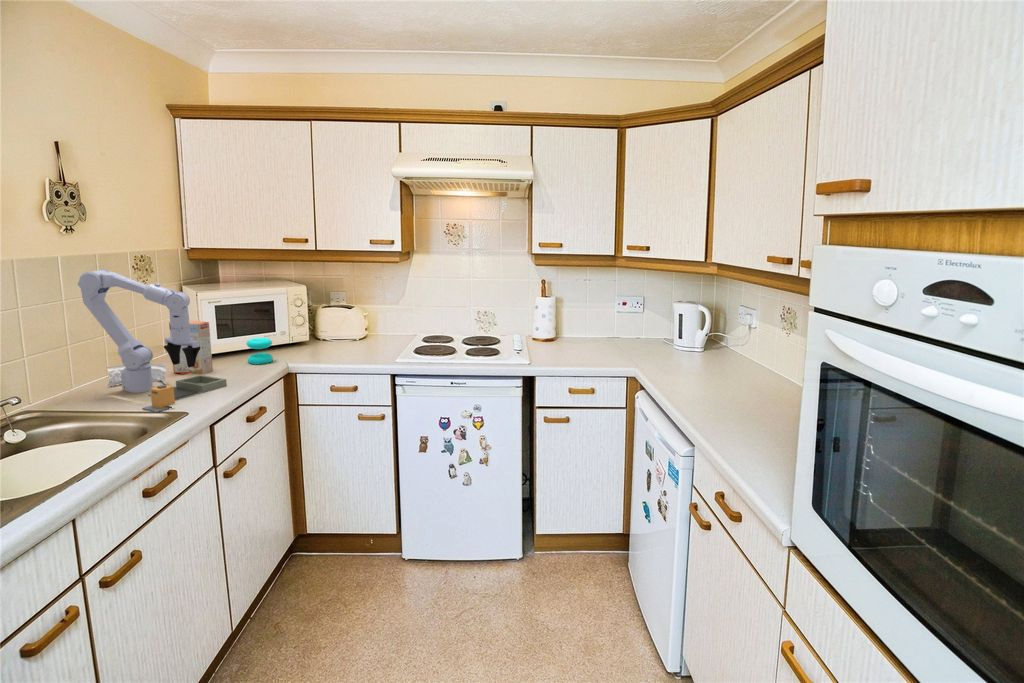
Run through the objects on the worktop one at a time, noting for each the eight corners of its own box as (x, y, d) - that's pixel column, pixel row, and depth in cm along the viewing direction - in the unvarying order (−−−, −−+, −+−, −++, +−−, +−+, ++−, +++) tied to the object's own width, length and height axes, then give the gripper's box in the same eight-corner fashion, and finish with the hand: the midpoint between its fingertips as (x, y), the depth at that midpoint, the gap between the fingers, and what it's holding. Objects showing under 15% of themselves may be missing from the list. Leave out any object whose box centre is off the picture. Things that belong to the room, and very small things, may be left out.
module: (151, 406, 184) (149, 387, 183) (166, 402, 189) (164, 383, 188) (160, 408, 183) (158, 388, 182) (175, 404, 188) (173, 384, 186)
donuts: (252, 342, 239) (242, 339, 245) (253, 366, 241) (244, 362, 247) (275, 339, 246) (265, 336, 252) (277, 362, 248) (267, 358, 254)
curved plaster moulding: (169, 388, 207) (166, 365, 206) (103, 394, 199) (99, 371, 198) (173, 382, 217) (171, 360, 216) (111, 388, 210) (108, 365, 208)
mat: (142, 409, 183) (142, 407, 183) (166, 402, 190) (165, 401, 190) (157, 412, 181) (157, 411, 180) (180, 405, 188) (180, 404, 188)
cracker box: (214, 373, 228) (209, 321, 224) (202, 376, 222) (197, 323, 218) (185, 370, 232) (180, 319, 228) (173, 373, 226) (168, 321, 222)
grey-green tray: (148, 398, 195) (147, 388, 194) (201, 383, 213) (200, 374, 212) (175, 403, 190) (174, 393, 189) (227, 388, 208) (226, 379, 207)
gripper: (205, 327, 200) (208, 365, 203) (176, 323, 205) (179, 360, 208) (186, 330, 193) (190, 369, 196) (157, 326, 199) (161, 364, 202)
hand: (183, 365), depth 202 cm, fingers open, 7 cm apart
